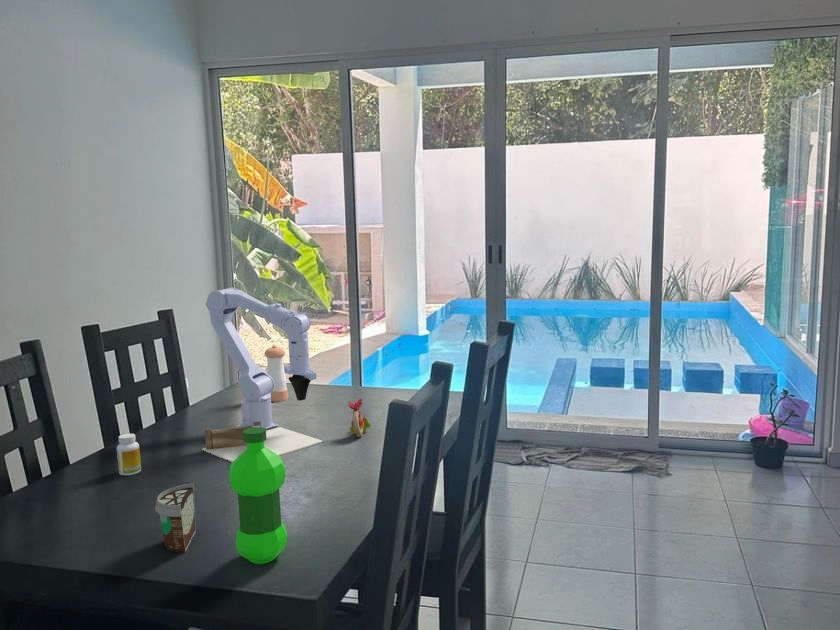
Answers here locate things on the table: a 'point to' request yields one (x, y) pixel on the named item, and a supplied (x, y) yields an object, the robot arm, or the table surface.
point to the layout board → (271, 444)
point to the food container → (177, 516)
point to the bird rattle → (358, 419)
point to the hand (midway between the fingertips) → (301, 399)
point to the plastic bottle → (258, 499)
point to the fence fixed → (226, 436)
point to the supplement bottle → (128, 455)
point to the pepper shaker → (277, 373)
